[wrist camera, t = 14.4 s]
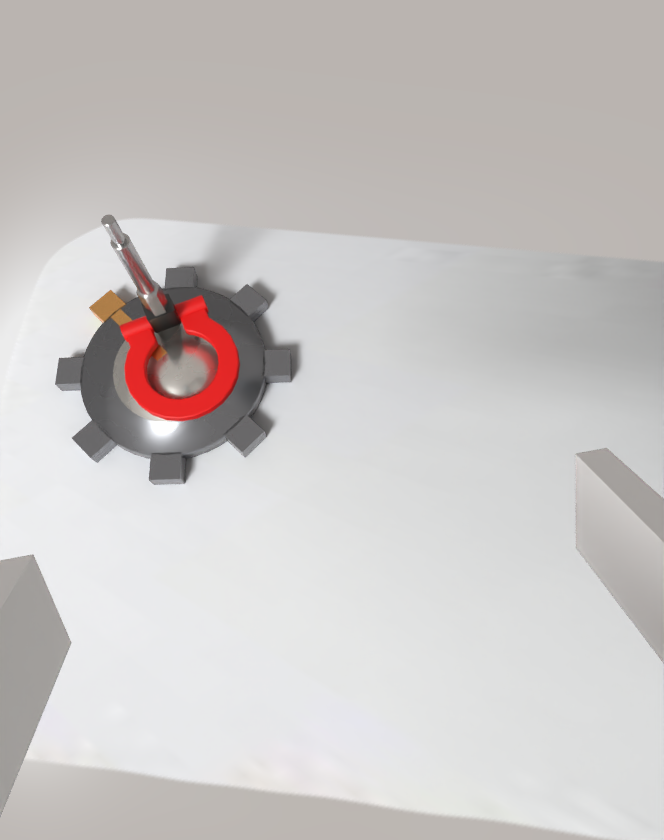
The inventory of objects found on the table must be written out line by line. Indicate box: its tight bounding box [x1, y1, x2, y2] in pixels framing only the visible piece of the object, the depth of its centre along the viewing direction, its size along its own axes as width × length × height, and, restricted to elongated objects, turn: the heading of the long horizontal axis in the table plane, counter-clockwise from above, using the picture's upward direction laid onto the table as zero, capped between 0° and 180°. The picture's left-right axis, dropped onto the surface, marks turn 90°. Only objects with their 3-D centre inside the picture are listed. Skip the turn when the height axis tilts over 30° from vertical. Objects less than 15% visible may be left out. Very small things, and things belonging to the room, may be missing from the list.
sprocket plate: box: [55, 267, 291, 485], centre depth 48 cm, size 18×18×1 cm
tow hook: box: [101, 215, 240, 421], centre depth 41 cm, size 8×13×9 cm
